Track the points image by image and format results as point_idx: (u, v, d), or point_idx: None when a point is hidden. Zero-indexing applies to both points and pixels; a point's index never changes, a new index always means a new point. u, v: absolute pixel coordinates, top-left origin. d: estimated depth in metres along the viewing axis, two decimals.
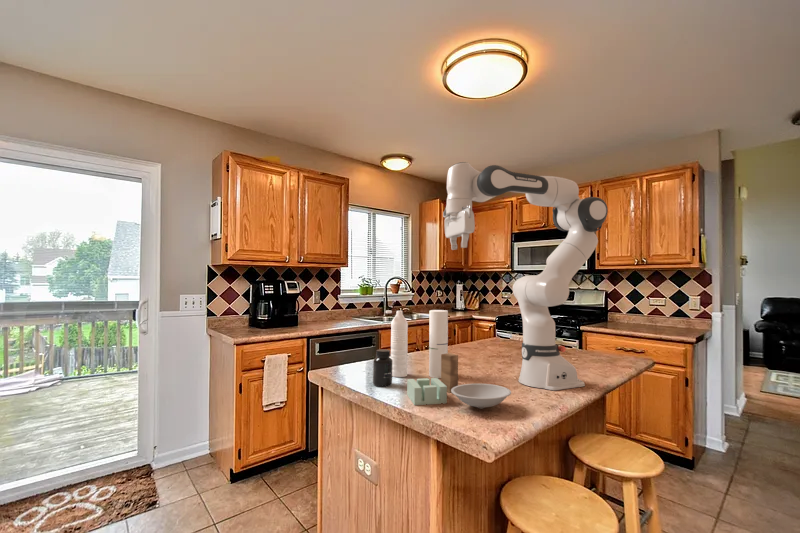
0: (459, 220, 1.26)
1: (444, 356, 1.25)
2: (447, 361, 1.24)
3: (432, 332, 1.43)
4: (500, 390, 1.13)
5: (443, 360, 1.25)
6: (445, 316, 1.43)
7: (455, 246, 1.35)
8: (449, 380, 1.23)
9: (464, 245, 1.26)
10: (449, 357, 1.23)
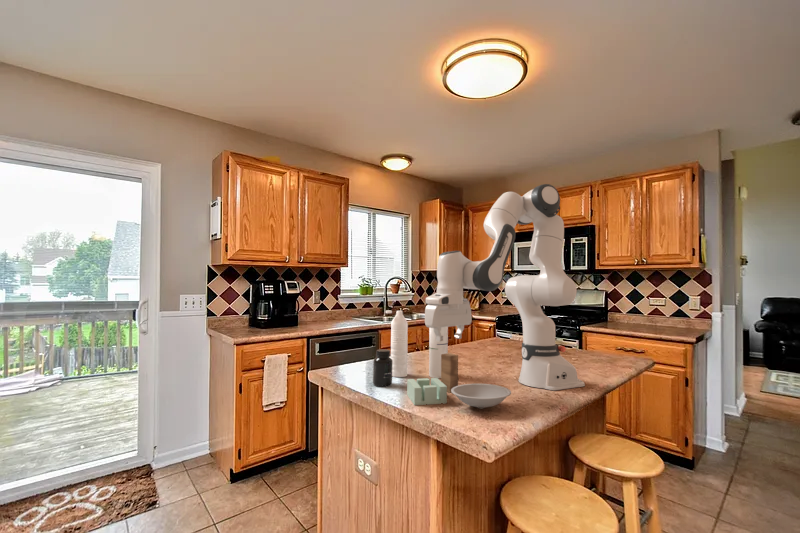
0: (461, 312, 1.28)
1: (444, 356, 1.25)
2: (447, 361, 1.24)
3: (432, 332, 1.43)
4: (500, 390, 1.13)
5: (443, 360, 1.25)
6: None
7: None
8: (449, 380, 1.23)
9: None
10: (449, 357, 1.23)
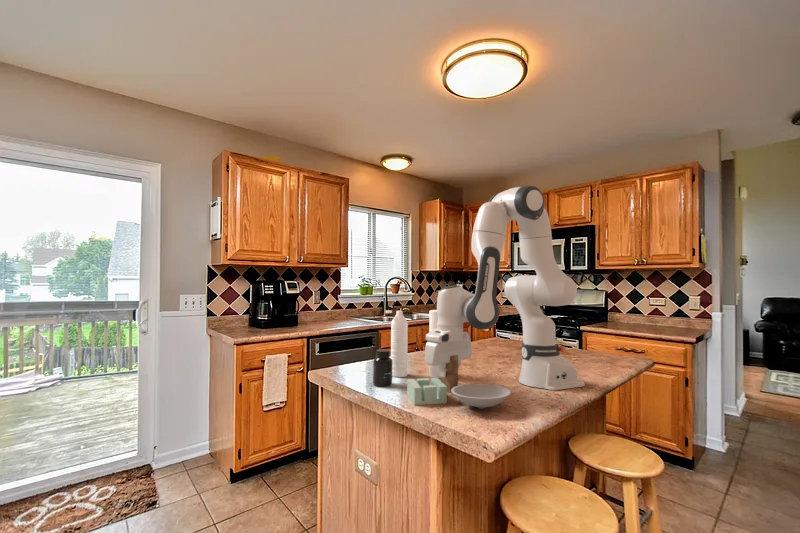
0: (461, 346, 1.28)
1: None
2: None
3: None
4: (500, 390, 1.13)
5: None
6: None
7: None
8: (449, 380, 1.23)
9: None
10: None
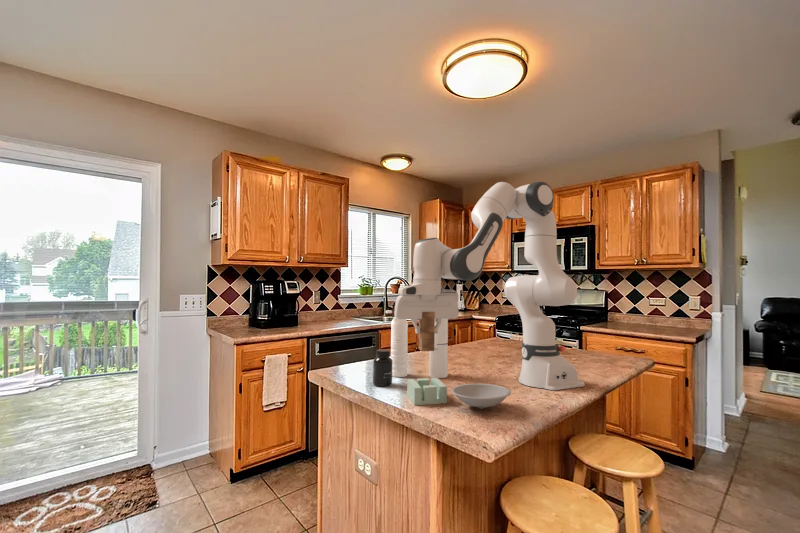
0: (441, 304, 1.17)
1: None
2: None
3: None
4: (500, 390, 1.13)
5: None
6: None
7: None
8: (421, 337, 1.15)
9: None
10: None
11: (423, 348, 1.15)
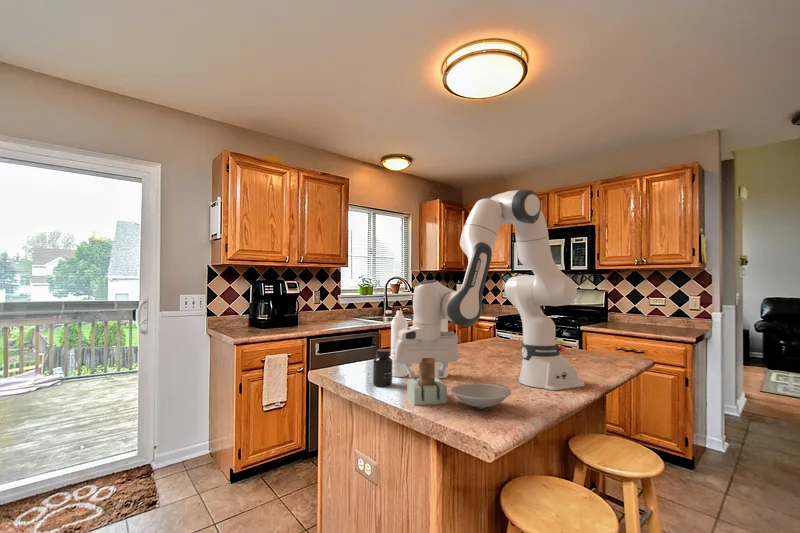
0: (441, 347, 1.17)
1: None
2: (421, 363, 1.16)
3: None
4: (500, 390, 1.13)
5: None
6: None
7: None
8: (421, 384, 1.15)
9: None
10: None
11: None
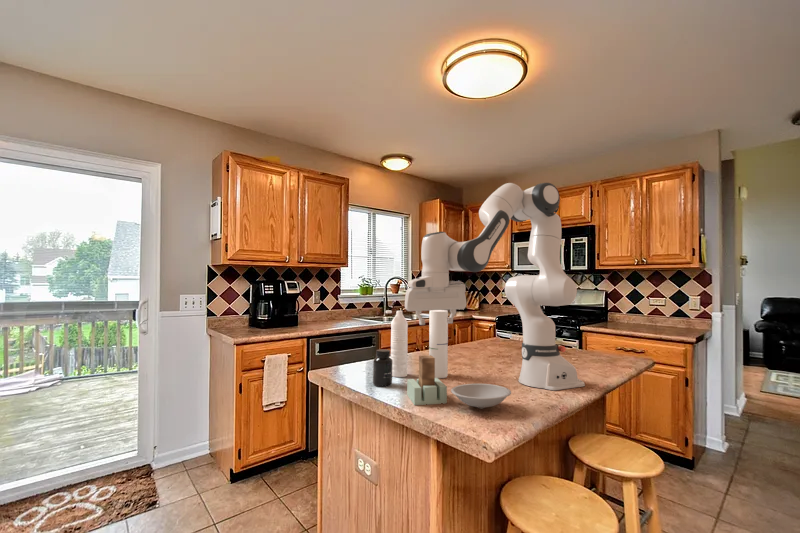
0: (450, 295, 1.22)
1: (420, 358, 1.17)
2: (421, 363, 1.16)
3: (432, 332, 1.43)
4: (500, 390, 1.13)
5: (419, 362, 1.18)
6: (445, 316, 1.43)
7: None
8: (421, 384, 1.15)
9: None
10: (421, 359, 1.15)
11: None
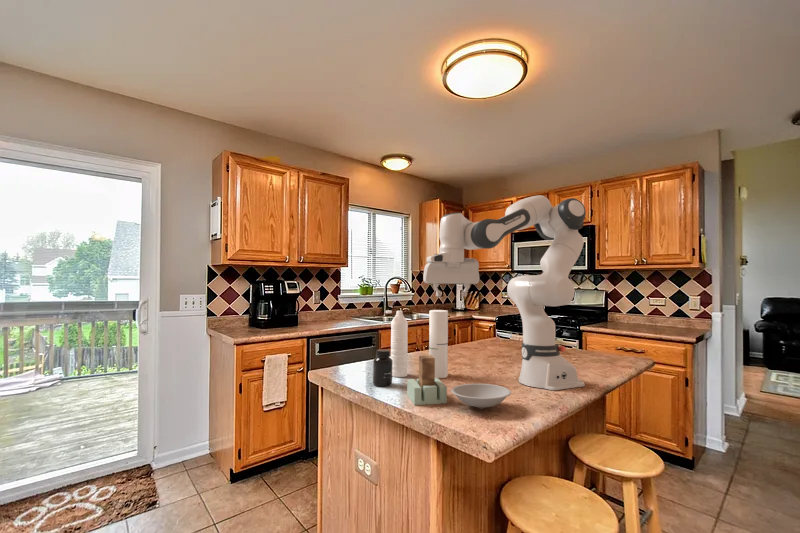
0: (464, 270, 1.34)
1: (420, 358, 1.17)
2: (421, 363, 1.16)
3: (432, 332, 1.43)
4: (500, 390, 1.13)
5: (419, 362, 1.18)
6: (445, 316, 1.43)
7: None
8: (421, 384, 1.15)
9: None
10: (421, 359, 1.15)
11: None
